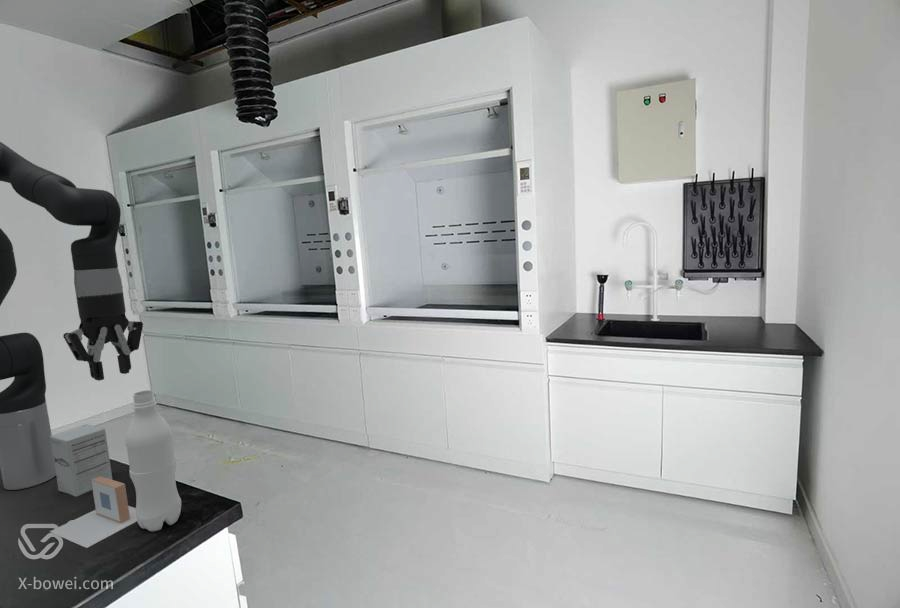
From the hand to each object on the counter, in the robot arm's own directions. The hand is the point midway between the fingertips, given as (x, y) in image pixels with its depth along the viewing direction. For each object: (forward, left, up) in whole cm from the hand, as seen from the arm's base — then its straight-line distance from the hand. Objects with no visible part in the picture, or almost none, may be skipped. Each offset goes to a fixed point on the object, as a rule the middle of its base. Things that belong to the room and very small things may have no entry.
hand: (112, 376), depth 97 cm
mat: (+7, -9, -25) cm, 28 cm away
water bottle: (+18, -4, -25) cm, 31 cm away
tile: (+7, -7, -25) cm, 27 cm away
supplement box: (-12, -2, -25) cm, 28 cm away
